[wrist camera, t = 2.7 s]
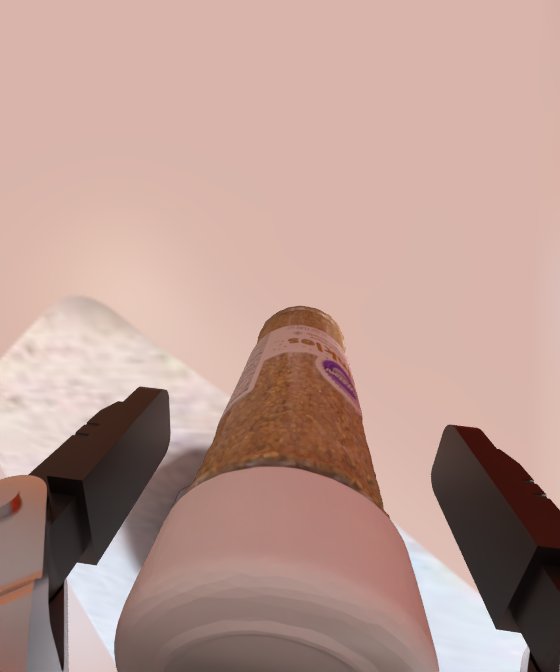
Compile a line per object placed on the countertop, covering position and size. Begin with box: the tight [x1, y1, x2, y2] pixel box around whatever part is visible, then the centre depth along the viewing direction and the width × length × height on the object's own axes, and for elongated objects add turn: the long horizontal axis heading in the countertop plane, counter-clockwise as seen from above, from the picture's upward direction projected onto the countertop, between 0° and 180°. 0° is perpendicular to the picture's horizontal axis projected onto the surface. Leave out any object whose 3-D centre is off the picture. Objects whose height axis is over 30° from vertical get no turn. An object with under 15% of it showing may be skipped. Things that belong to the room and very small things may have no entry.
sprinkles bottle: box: [114, 306, 439, 672], centre depth 11 cm, size 5×5×14 cm
